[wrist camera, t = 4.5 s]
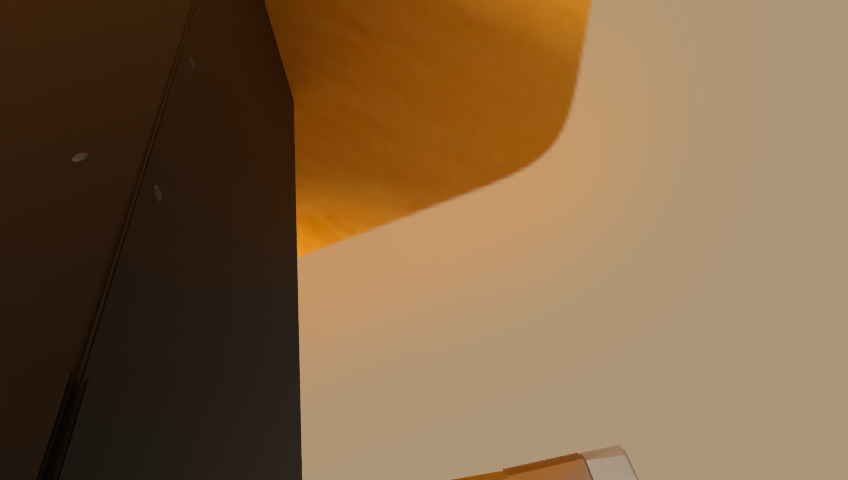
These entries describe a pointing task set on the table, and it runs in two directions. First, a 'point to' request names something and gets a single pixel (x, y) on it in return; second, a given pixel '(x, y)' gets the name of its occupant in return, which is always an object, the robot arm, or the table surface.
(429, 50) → the table surface
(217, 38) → the black long block
